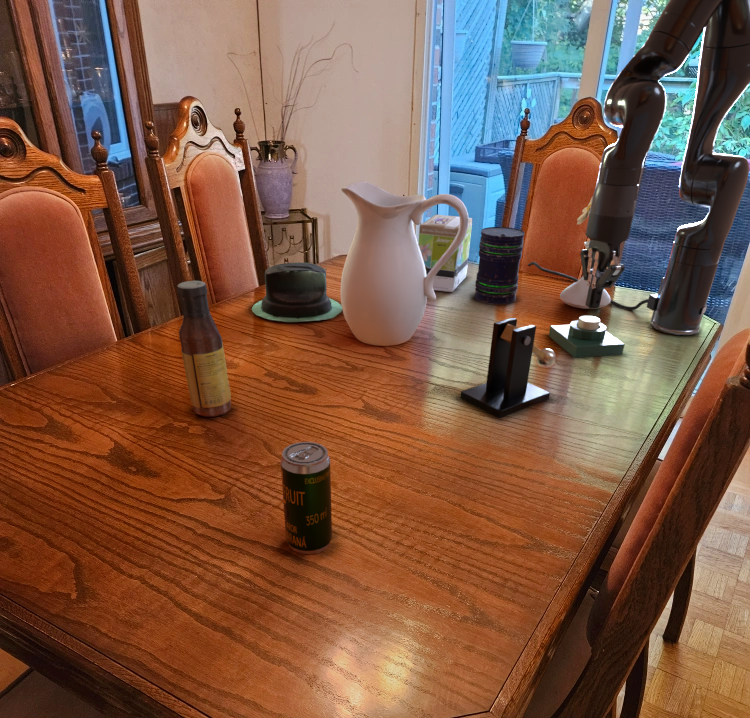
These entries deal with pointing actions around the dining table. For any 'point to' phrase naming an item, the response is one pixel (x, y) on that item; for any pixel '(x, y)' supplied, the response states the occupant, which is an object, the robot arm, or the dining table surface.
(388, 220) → the pitcher
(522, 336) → the bracket
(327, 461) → the green drink can
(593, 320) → the button
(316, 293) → the fedora hat
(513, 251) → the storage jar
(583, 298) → the flower in vase
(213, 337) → the sauce bottle
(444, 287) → the tea box
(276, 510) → the dining table surface
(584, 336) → the switch block
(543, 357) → the lever
